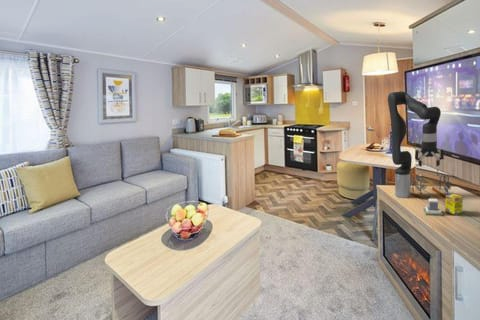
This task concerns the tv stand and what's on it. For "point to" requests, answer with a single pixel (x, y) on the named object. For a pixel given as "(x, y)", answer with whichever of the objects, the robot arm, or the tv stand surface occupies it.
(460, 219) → the tv stand surface
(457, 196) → the supplement box
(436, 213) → the socket board
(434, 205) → the plug
